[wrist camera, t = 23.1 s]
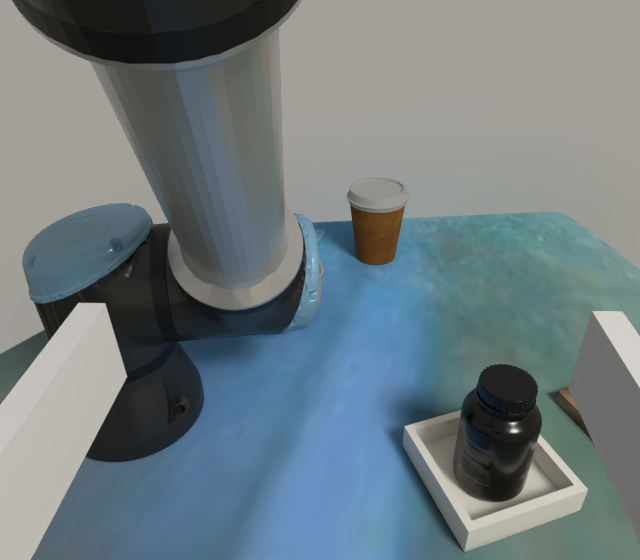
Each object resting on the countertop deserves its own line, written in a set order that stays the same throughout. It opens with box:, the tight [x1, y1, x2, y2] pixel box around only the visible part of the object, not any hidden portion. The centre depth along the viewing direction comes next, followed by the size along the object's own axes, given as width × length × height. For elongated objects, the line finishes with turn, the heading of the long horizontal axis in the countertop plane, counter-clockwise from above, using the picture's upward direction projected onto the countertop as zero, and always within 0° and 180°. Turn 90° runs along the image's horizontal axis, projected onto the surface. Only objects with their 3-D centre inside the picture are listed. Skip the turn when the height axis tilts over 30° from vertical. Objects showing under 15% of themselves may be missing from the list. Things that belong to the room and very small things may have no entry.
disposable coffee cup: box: [347, 177, 409, 265], centre depth 85 cm, size 10×10×12 cm
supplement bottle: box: [453, 364, 542, 502], centre depth 48 cm, size 7×7×12 cm
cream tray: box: [403, 410, 588, 552], centre depth 51 cm, size 12×12×3 cm
